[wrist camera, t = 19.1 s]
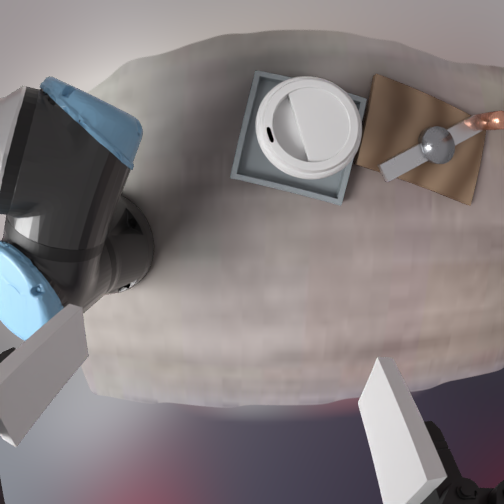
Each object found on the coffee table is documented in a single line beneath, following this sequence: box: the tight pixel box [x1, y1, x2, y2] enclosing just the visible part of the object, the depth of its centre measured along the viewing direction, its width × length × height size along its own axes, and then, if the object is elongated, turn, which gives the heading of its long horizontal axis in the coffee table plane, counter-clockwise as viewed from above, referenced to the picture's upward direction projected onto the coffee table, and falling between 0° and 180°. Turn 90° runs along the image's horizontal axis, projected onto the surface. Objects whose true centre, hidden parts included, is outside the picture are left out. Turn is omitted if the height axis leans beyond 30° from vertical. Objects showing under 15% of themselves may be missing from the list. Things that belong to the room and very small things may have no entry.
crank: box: [377, 111, 504, 182], centre depth 32 cm, size 19×5×7 cm, turn 120°
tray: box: [230, 70, 367, 206], centre depth 38 cm, size 14×14×2 cm
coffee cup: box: [256, 76, 362, 179], centre depth 31 cm, size 10×10×15 cm
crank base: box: [354, 74, 486, 206], centre depth 37 cm, size 19×13×2 cm
